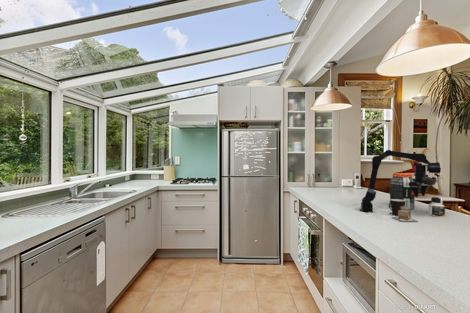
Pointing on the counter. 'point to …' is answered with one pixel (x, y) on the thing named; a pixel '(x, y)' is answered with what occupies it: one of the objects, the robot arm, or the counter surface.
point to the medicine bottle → (437, 207)
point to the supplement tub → (402, 189)
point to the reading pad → (404, 220)
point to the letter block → (404, 214)
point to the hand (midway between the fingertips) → (420, 196)
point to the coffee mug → (397, 206)
